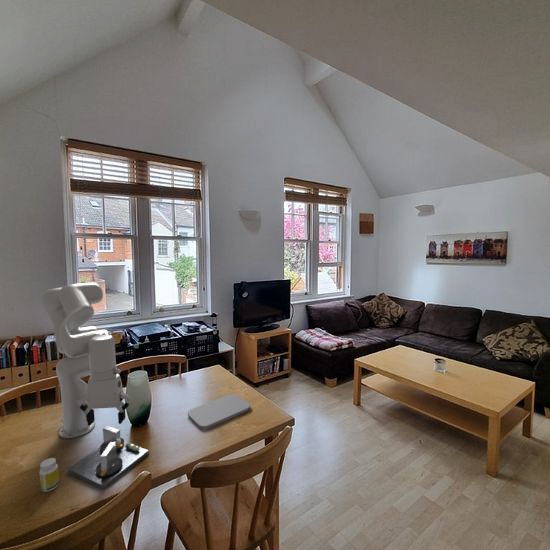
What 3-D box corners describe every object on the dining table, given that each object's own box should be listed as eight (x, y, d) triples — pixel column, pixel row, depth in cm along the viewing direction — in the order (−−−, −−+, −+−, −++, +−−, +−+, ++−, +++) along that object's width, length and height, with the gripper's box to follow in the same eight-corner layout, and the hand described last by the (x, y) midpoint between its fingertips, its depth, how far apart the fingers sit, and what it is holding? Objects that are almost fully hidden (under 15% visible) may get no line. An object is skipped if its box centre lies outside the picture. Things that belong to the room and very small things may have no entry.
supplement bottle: (62, 480, 100) (60, 456, 99) (52, 492, 95) (50, 467, 94) (47, 480, 100) (45, 457, 99) (37, 492, 95) (34, 467, 94)
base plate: (67, 472, 103) (66, 463, 103) (114, 441, 119) (114, 433, 119) (103, 490, 96) (102, 480, 95) (148, 454, 112) (148, 445, 112)
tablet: (185, 416, 137) (185, 411, 137) (233, 397, 154) (233, 392, 154) (202, 433, 125) (202, 427, 125) (252, 410, 142) (252, 405, 142)
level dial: (103, 459, 107) (101, 441, 106) (126, 458, 107) (125, 440, 107) (89, 479, 98) (88, 459, 97) (115, 477, 99) (114, 458, 98)
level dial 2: (95, 449, 112) (94, 432, 111) (114, 437, 119) (113, 420, 119) (111, 456, 108) (110, 438, 108) (130, 443, 116) (129, 426, 115)
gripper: (135, 367, 104) (137, 414, 106) (81, 369, 102) (85, 417, 104) (126, 377, 97) (129, 427, 99) (68, 379, 95) (72, 430, 97)
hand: (106, 422), depth 101 cm, fingers open, 9 cm apart
